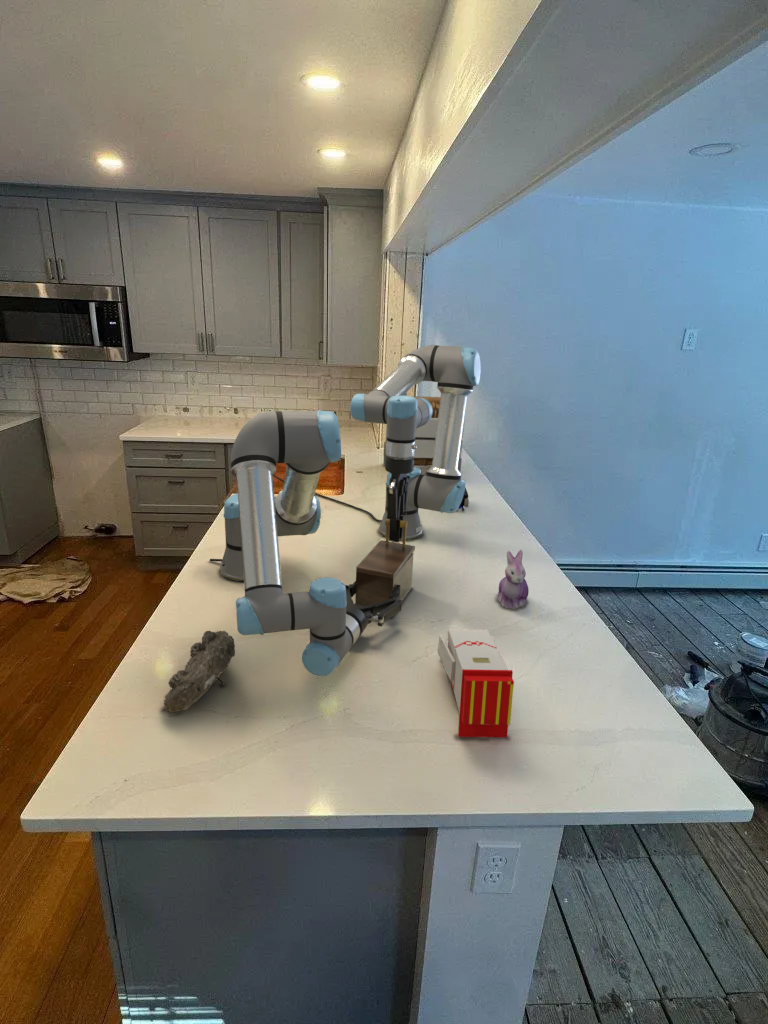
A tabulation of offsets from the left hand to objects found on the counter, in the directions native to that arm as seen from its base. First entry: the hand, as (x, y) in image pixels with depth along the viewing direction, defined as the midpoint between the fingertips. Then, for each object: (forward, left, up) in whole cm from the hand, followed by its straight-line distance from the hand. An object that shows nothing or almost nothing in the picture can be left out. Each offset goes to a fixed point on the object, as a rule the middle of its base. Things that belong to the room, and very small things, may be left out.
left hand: (379, 585), depth 149 cm
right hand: (0, +12, +9) cm, 15 cm away
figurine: (+33, +17, -6) cm, 38 cm away
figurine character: (+2, +90, -6) cm, 90 cm away
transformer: (-26, +131, -6) cm, 133 cm away
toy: (+30, -26, -6) cm, 40 cm away
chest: (0, +5, -6) cm, 8 cm away
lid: (0, +5, +5) cm, 7 cm away
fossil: (-22, -44, -6) cm, 50 cm away
